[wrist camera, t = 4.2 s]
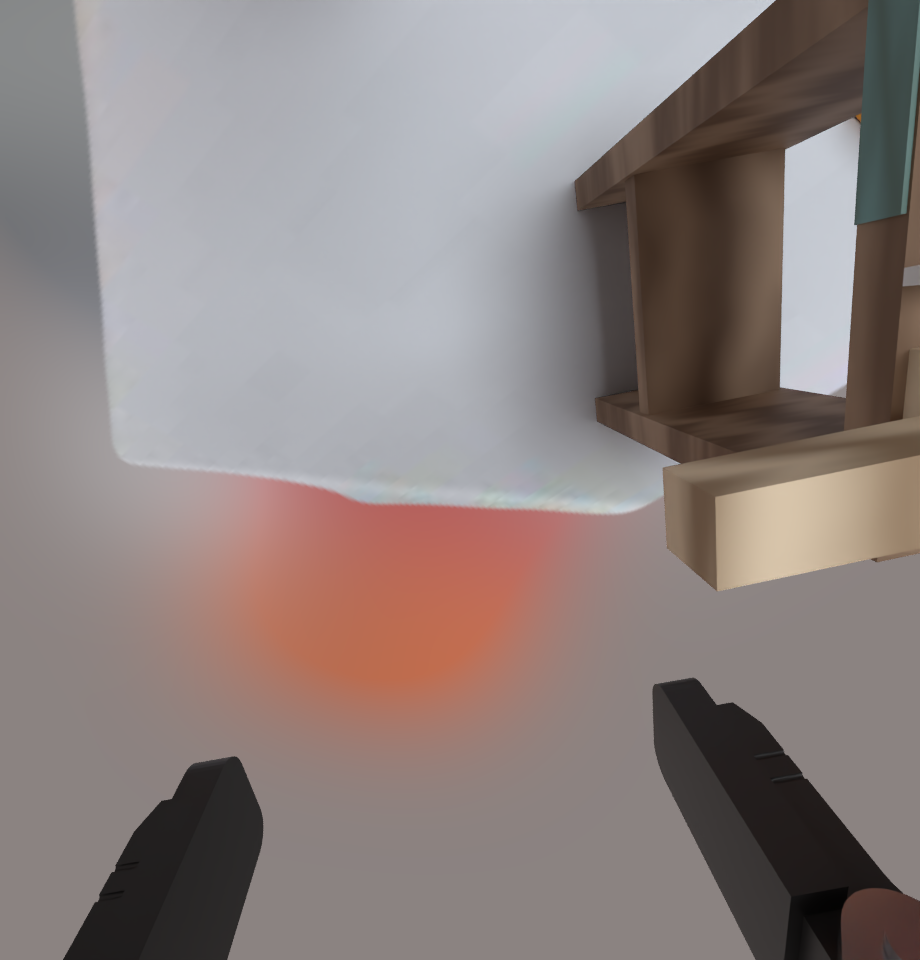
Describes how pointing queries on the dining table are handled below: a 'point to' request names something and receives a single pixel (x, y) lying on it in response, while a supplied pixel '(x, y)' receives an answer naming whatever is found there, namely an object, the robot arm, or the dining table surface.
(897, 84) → the wooden stand
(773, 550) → the tan stepped block
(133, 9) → the dining table surface
